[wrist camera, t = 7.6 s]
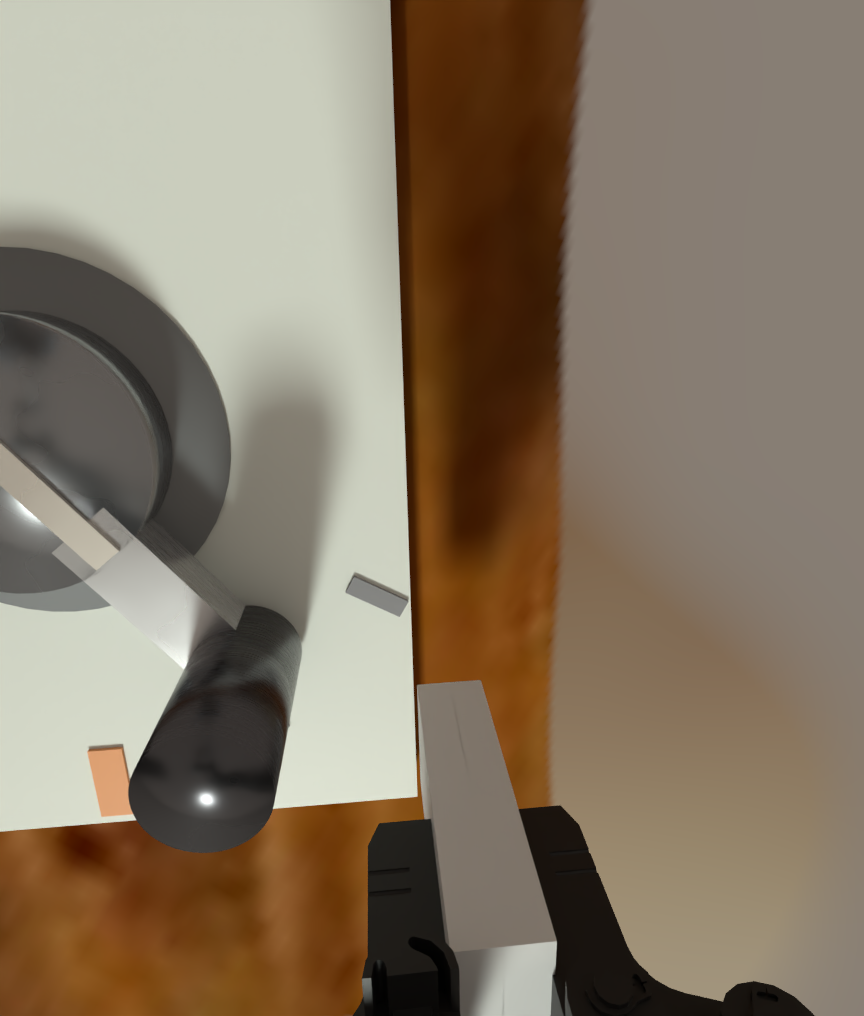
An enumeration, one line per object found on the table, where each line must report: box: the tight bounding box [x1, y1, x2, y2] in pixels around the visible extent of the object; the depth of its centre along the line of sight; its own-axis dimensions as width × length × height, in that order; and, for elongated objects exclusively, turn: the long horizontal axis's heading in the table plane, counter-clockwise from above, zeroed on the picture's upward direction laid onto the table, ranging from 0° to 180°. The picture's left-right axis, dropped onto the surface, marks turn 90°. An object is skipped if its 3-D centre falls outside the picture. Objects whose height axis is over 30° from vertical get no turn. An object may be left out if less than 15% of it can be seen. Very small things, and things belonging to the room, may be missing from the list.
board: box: [0, 0, 417, 831], centre depth 16 cm, size 22×17×1 cm
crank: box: [0, 311, 302, 853], centre depth 13 cm, size 11×6×6 cm, turn 39°
